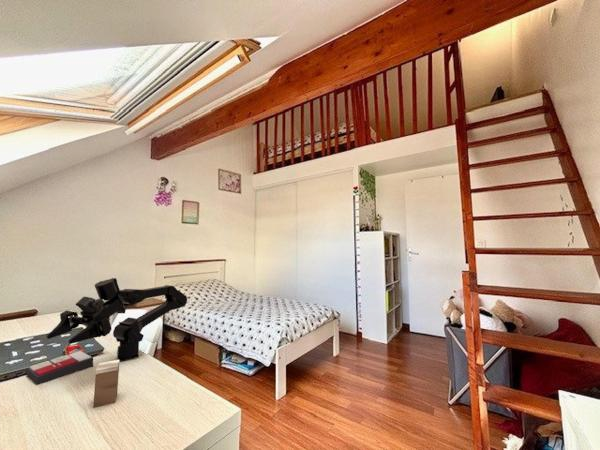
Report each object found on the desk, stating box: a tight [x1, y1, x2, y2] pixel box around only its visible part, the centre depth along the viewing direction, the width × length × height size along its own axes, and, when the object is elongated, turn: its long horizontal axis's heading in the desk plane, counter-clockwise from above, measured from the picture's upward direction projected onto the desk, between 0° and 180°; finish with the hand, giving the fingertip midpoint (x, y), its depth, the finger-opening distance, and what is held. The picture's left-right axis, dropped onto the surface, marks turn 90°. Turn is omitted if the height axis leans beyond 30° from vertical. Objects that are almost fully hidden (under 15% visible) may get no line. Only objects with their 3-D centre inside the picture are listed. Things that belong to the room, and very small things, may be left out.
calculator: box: [26, 351, 94, 386], centre depth 90 cm, size 11×4×15 cm
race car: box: [62, 343, 85, 356], centre depth 103 cm, size 13×5×4 cm, turn 50°
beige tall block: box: [92, 359, 120, 409], centre depth 73 cm, size 5×5×10 cm
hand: (58, 340), depth 79 cm, fingers open, 9 cm apart
